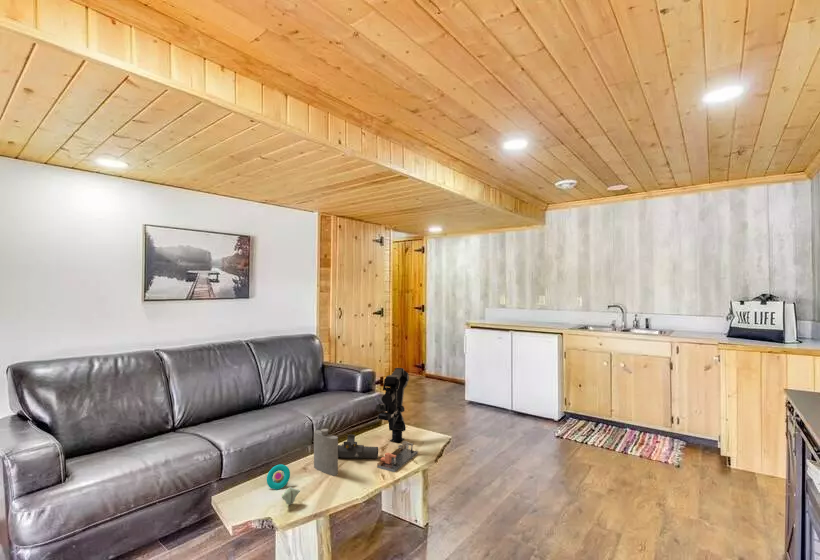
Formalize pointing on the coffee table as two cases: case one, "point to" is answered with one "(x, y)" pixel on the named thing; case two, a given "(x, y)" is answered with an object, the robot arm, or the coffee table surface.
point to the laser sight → (356, 450)
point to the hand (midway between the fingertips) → (391, 428)
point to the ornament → (278, 477)
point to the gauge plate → (399, 457)
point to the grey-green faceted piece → (290, 495)
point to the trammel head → (388, 458)
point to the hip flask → (326, 452)
